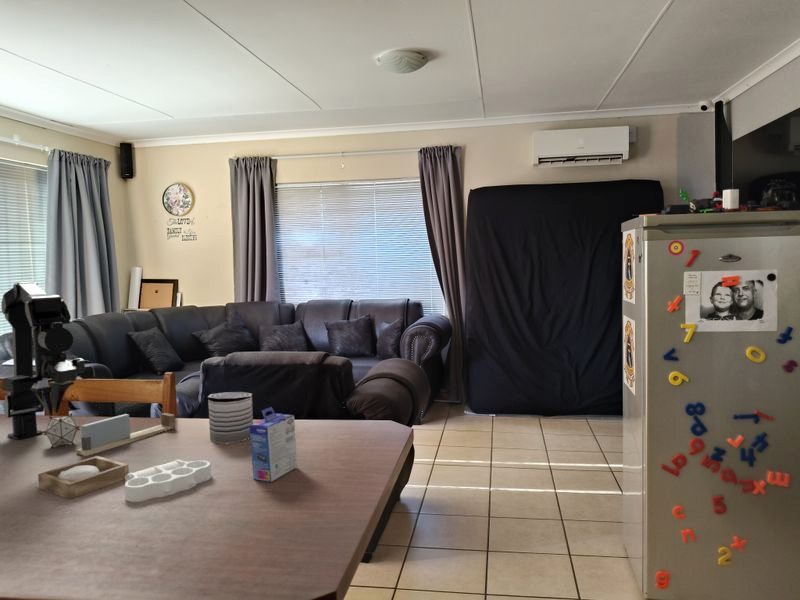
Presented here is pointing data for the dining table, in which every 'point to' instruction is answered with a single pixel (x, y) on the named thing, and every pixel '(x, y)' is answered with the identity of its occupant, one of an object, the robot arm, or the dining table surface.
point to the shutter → (105, 431)
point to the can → (230, 416)
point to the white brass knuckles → (165, 479)
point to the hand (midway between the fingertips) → (52, 413)
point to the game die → (61, 430)
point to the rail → (134, 435)
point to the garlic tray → (108, 475)
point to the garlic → (78, 473)
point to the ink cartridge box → (273, 446)
